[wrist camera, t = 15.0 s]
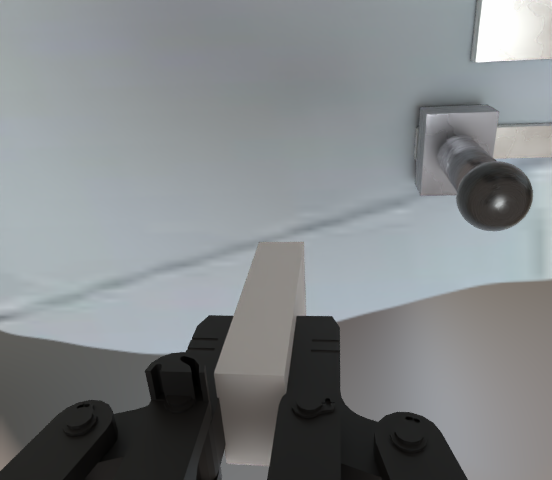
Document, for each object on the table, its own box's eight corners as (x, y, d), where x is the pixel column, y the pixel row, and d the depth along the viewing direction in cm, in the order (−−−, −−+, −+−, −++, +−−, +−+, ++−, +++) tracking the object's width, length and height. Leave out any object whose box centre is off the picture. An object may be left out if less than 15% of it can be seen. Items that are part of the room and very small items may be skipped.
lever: (420, 107, 30) (462, 153, 20) (487, 104, 29) (565, 150, 19) (414, 183, 32) (450, 260, 22) (477, 182, 31) (543, 260, 21)
